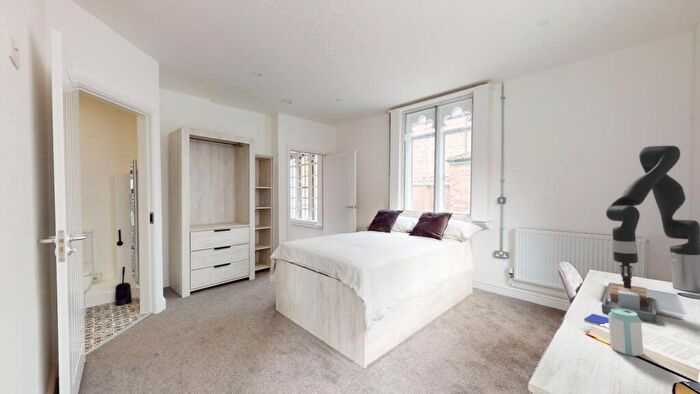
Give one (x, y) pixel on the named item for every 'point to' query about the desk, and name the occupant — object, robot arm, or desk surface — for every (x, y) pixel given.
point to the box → (643, 313)
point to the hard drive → (596, 319)
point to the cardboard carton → (642, 290)
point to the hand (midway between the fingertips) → (627, 290)
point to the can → (625, 332)
